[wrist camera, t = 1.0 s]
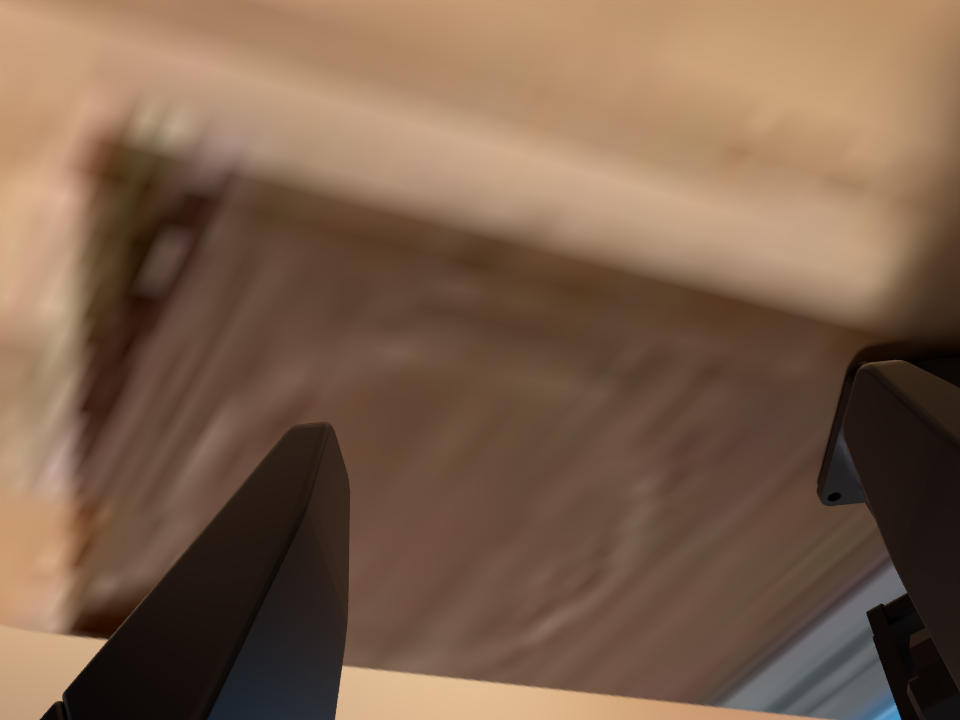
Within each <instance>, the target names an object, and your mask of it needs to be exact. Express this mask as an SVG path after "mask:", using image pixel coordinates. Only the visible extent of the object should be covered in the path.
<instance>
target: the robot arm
mask: <svg viewBox="0 0 960 720" xmlns="http://www.w3.org/2000/svg"><path fill="white" fill-rule="evenodd" d="M817 495H818V497H819V499H820V500H821V502H822V503H823V504H824V505H826V506H836V505H845V504H855V503H864V502H865V504H866V505H867V507H868V508H869V510H870V512H871V513H872V515H873V517H874V518H875V520H876V523H877V525H878V528H879V530H880V533H881V536H882V538H883V541H884V543H885V546H886V548H887V551H888V553H889V555H890V558H891V560H892V562H893V565H894V567H895V569H896V571H897V573H898V575H899V577H900V579H901V581H902V583H903V585H904V587H905V589H906V591H907V593H906V594H904V595H902V596H901V597H899V598H897V599H895V600H893V601H892V602H890V603H888V604H886V605H883V604H880V605H878V606H876V607H874V608H873V609H871V610H869V611H867V612H866V613H867V617H868V619H869V622H870V625H871V628H872V631H873V634H874V636H873V640H874V643H875V646H876V649H877V652H878V655H879V658H880V660H881V663H882V666H883V669H884V672H885V675H886V677H887V680H888V683H889V686H890V689H891V692H892V694H893V697H894V700H895V703H896V706H897V709H898V712H899V714H900V717H901V720H960V356H955V357H946V358H937V359H927V360H918V361H909V362H906V361H902V360H891V361H882V362H873V363H867V364H865V365H862V366H861V367H860V368H857V369H855V370H854V371H852V372H851V373H850V374H849V375H848V377H847V379H846V382H845V386H844V390H843V394H842V397H841V401H840V405H839V409H838V413H837V416H836V420H835V424H834V428H833V431H832V435H831V439H830V443H829V446H828V450H827V454H826V458H825V461H824V465H823V469H822V473H821V476H820V480H819V484H818V488H817ZM349 521H350V488H349V480H348V474H347V471H346V467H345V464H344V461H343V457H342V454H341V450H340V447H339V444H338V440H337V437H336V434H335V431H334V429H333V427H332V426H331V424H329V423H327V422H319V423H309V424H300V425H295V426H293V427H291V428H290V429H289V430H288V431H287V432H286V433H285V434H284V436H283V437H282V438H281V439H280V440H279V441H278V443H277V444H276V445H275V446H274V447H273V448H272V450H271V451H270V452H269V453H268V454H267V455H266V457H265V458H264V459H263V460H262V461H261V462H260V464H259V465H258V466H257V467H256V468H255V469H254V471H253V472H252V473H251V474H250V475H249V476H248V478H247V479H246V480H245V481H244V482H243V483H242V485H241V486H240V487H239V488H238V489H237V491H236V492H235V493H234V494H233V495H232V496H231V498H230V499H229V500H228V501H227V502H226V503H225V505H224V506H223V507H222V508H221V509H220V510H219V512H218V513H217V514H216V515H215V516H214V517H213V519H212V520H211V521H210V522H209V523H208V524H207V526H206V527H205V528H204V529H203V530H202V531H201V533H200V534H199V535H198V536H197V537H196V538H195V540H194V541H193V542H192V543H191V544H190V545H189V547H188V548H187V549H186V550H185V551H184V552H183V554H182V555H181V556H180V557H179V558H178V559H177V561H176V562H175V563H174V564H173V565H172V566H171V568H170V569H169V570H168V571H167V572H166V573H165V575H164V576H163V577H162V578H161V579H160V580H159V582H158V583H157V584H156V585H155V586H154V587H153V589H152V590H151V591H150V592H149V593H148V594H147V596H146V597H145V598H144V599H143V600H142V601H141V603H140V604H139V605H138V606H137V607H136V608H135V610H134V611H133V612H132V613H131V614H130V615H129V617H128V618H127V619H126V620H125V621H124V622H123V624H122V625H121V626H120V627H119V628H118V629H117V631H116V632H115V633H114V634H113V635H112V636H111V638H110V639H109V640H108V641H107V642H106V643H105V645H104V646H103V647H102V648H101V649H100V651H99V652H98V653H97V654H96V655H95V656H94V657H93V659H92V660H91V661H90V662H89V663H88V664H87V666H86V667H85V668H84V669H83V671H81V673H80V674H79V675H78V676H77V678H76V679H75V680H74V681H73V682H72V683H71V684H70V686H69V687H68V688H67V689H66V690H65V691H64V693H63V695H62V699H63V702H62V701H57V702H55V703H54V704H53V705H52V706H51V708H49V710H48V711H47V712H46V713H45V714H44V715H43V717H42V718H41V719H40V720H335V715H336V708H337V699H338V693H339V685H340V678H341V671H342V664H343V656H344V649H345V641H346V631H347V620H348V587H349Z"/></svg>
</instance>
